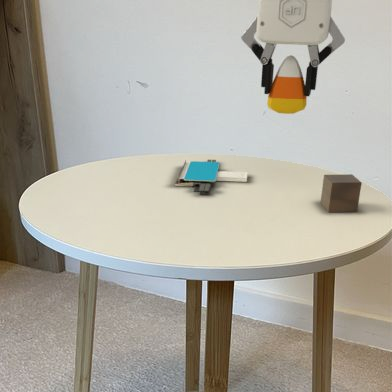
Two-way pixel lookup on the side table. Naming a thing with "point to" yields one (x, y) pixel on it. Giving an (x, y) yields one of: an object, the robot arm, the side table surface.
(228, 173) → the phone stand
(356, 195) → the walnut block
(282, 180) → the side table surface
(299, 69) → the candy corn
